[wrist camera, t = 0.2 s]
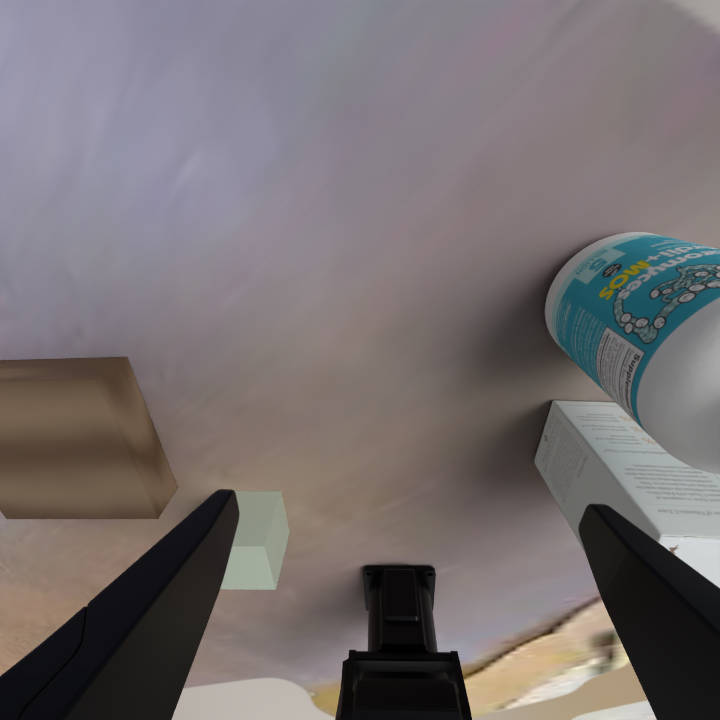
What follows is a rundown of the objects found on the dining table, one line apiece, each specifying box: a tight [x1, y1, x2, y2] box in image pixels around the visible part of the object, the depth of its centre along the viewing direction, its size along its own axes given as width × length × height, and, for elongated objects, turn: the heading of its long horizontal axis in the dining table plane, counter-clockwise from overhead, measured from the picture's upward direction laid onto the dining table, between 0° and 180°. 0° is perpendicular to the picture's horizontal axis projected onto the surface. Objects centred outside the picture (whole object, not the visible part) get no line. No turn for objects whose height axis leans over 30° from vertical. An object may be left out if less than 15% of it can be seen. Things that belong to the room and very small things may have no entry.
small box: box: [534, 400, 720, 588], centre depth 21 cm, size 8×6×10 cm
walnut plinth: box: [0, 357, 178, 519], centre depth 26 cm, size 12×12×3 cm
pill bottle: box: [545, 232, 720, 475], centre depth 15 cm, size 8×7×14 cm
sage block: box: [220, 491, 290, 590], centre depth 29 cm, size 5×5×5 cm
